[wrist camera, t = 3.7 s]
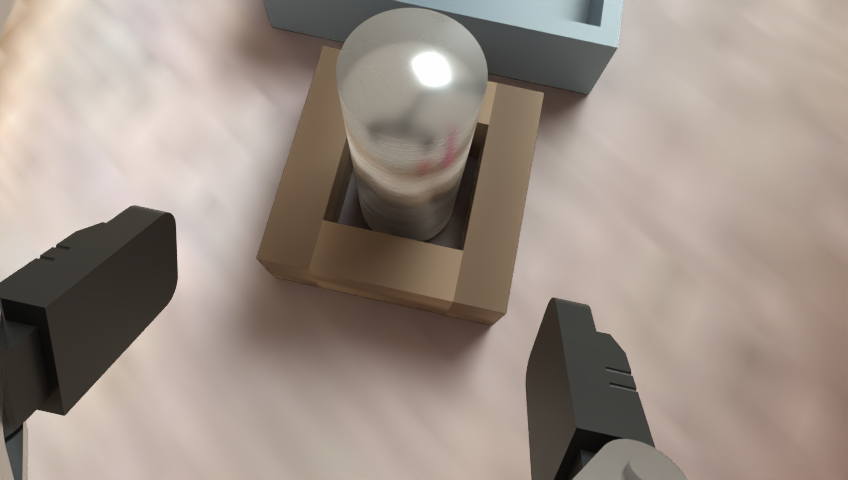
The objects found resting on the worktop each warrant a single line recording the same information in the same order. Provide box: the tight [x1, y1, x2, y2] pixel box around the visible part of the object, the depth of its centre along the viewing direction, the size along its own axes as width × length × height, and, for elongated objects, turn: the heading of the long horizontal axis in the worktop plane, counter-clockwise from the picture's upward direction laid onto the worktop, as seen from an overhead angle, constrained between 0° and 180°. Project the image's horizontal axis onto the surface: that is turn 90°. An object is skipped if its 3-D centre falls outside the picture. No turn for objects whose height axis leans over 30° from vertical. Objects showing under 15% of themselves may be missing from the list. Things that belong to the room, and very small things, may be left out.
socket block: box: [257, 46, 544, 325], centre depth 22 cm, size 9×9×3 cm
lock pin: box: [336, 8, 488, 242], centre depth 19 cm, size 4×4×10 cm
